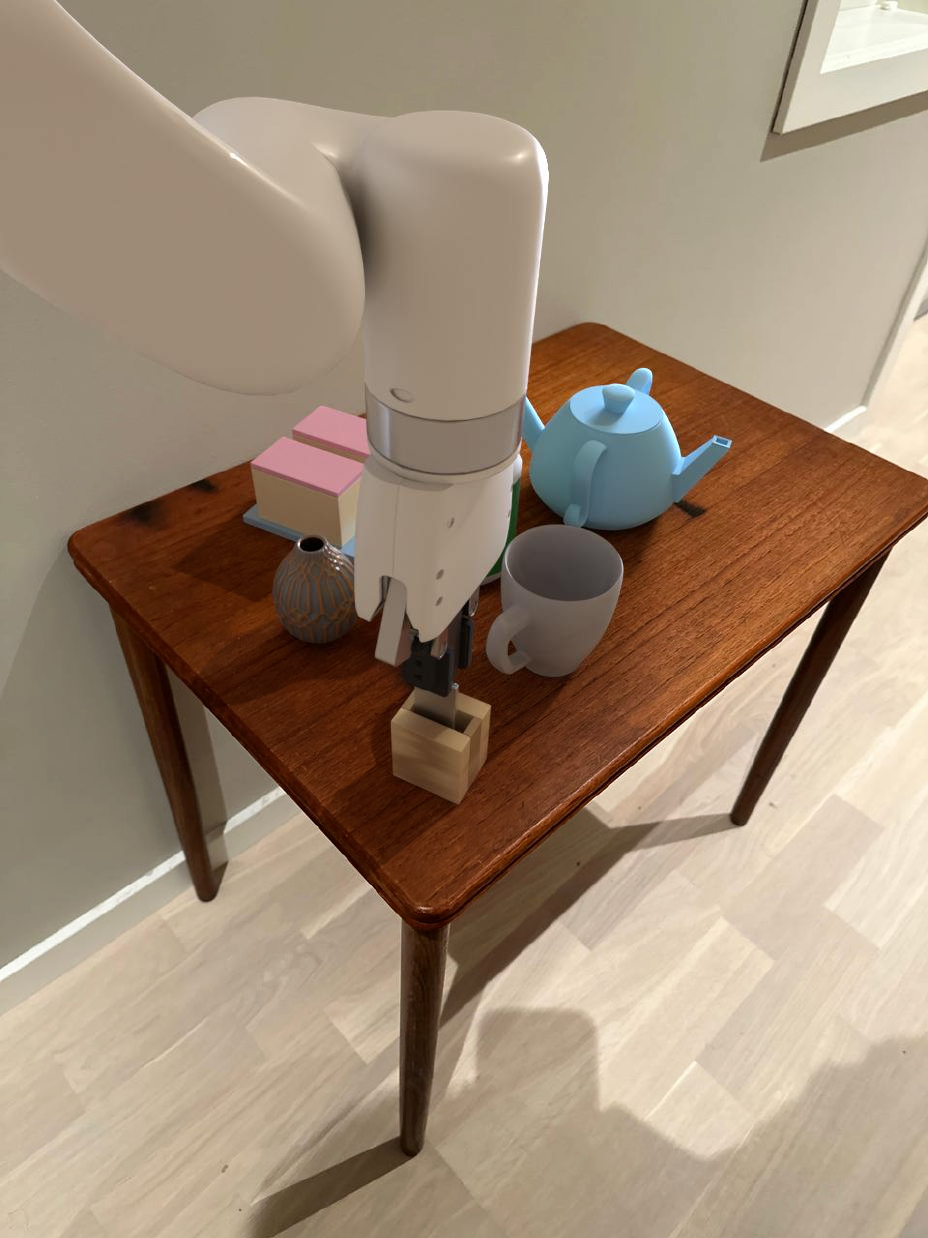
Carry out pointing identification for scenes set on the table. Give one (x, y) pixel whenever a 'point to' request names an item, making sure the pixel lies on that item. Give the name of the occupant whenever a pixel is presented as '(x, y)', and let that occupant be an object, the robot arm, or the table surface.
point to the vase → (315, 591)
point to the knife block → (441, 748)
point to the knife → (446, 707)
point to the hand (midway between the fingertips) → (436, 671)
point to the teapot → (612, 457)
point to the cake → (312, 480)
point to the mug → (554, 599)
